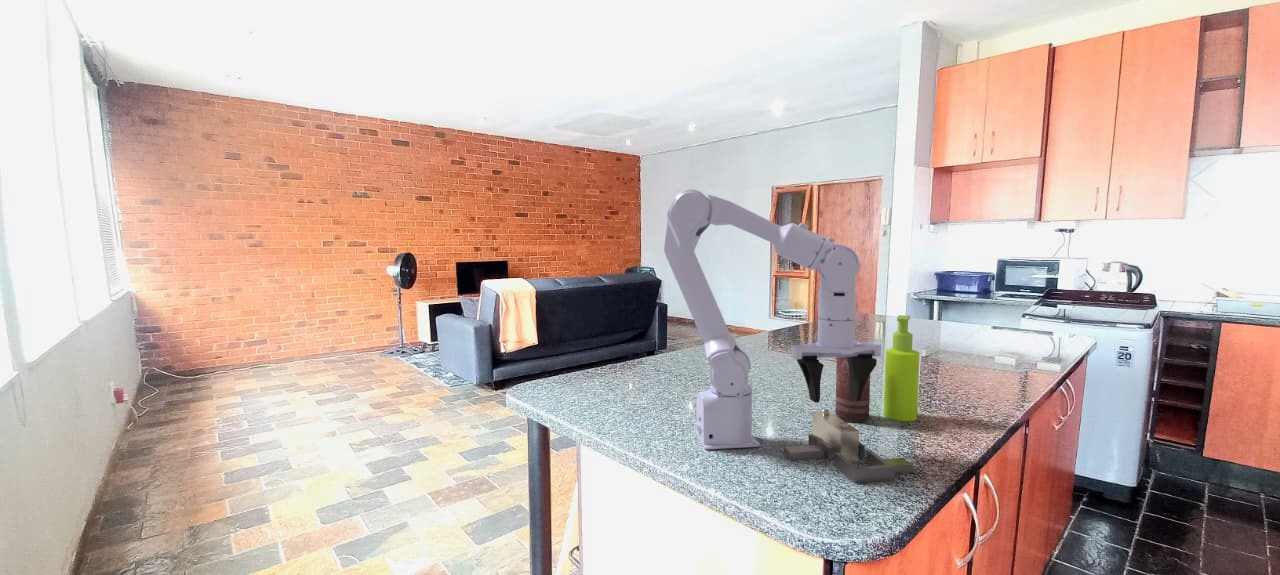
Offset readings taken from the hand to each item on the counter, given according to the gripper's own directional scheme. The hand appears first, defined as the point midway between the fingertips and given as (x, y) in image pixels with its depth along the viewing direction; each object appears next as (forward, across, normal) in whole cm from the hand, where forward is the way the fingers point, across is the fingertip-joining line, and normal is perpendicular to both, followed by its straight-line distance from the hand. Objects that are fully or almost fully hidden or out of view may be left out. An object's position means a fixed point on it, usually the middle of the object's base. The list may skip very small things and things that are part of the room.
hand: (835, 399), depth 82 cm
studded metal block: (+9, 0, 0) cm, 9 cm away
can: (+9, +11, +14) cm, 20 cm away
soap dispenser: (+9, +21, +14) cm, 27 cm away
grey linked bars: (+8, 0, -5) cm, 10 cm away
